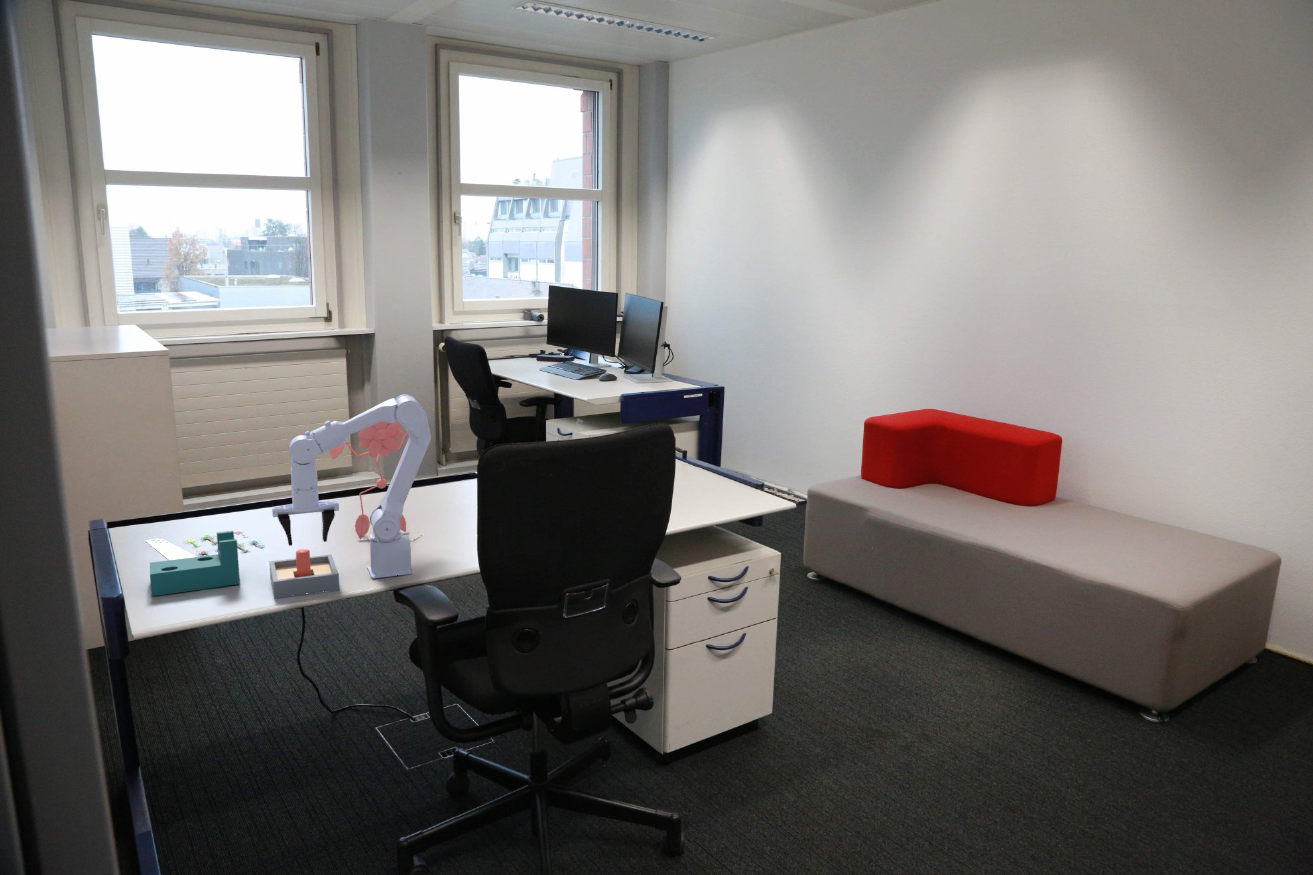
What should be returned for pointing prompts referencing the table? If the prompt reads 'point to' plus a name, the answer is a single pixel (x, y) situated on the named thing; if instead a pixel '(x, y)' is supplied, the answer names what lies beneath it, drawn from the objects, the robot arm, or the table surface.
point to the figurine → (377, 441)
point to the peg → (303, 563)
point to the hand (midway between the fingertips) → (307, 542)
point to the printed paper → (177, 553)
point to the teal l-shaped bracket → (198, 569)
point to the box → (290, 584)
